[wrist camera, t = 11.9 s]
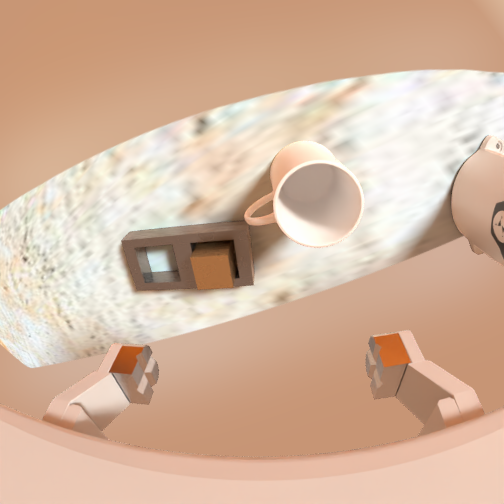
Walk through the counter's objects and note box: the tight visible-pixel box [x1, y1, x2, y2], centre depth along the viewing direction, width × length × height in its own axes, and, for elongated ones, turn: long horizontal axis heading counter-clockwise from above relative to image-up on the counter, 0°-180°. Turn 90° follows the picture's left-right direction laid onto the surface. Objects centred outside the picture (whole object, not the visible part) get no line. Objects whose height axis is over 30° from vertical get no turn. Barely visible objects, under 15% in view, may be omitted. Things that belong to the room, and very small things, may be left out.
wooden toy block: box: [190, 239, 238, 290], centre depth 39 cm, size 4×4×6 cm
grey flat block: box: [121, 220, 255, 290], centre depth 41 cm, size 17×8×3 cm, turn 96°
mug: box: [244, 141, 364, 248], centre depth 31 cm, size 12×8×12 cm
